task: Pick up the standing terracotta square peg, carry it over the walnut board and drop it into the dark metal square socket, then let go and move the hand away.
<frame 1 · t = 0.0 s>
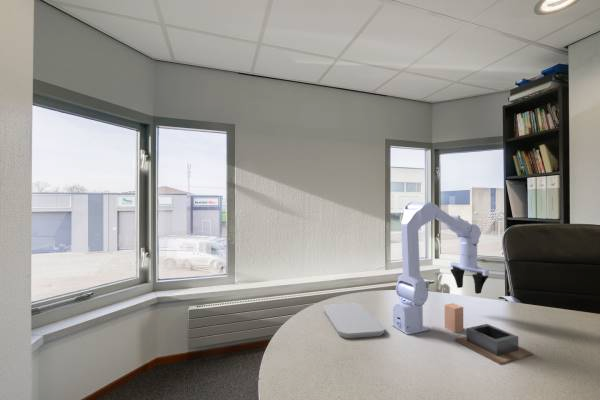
hand: (468, 290, 106), 10 cm above the table, fingers open, 7 cm apart
peg: (453, 329, 95), on the table
socket board: (491, 347, 83), on the table
tablet: (351, 322, 101), on the table
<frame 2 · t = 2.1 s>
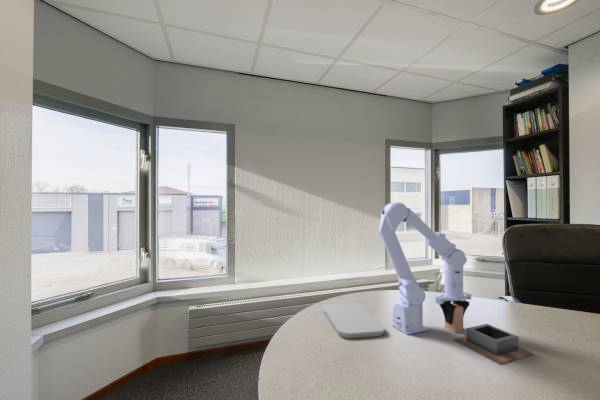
hand: (453, 322, 95), 2 cm above the table, fingers closed on peg, 4 cm apart
peg: (453, 329, 95), on the table, touching gripper
everything else where it was.
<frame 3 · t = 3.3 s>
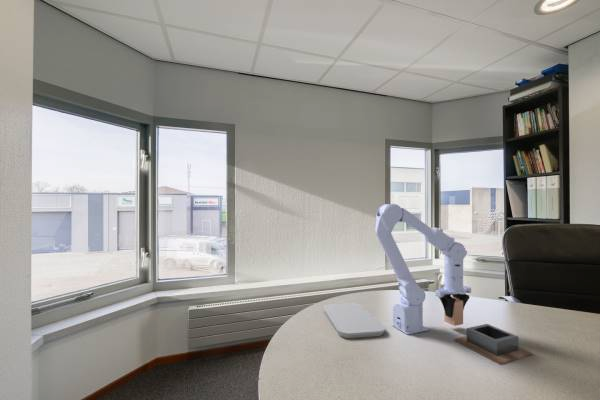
hand: (453, 315, 95), 5 cm above the table, fingers closed on peg, 4 cm apart
peg: (453, 322, 95), point 2 cm above the table, touching gripper
everything else where it was.
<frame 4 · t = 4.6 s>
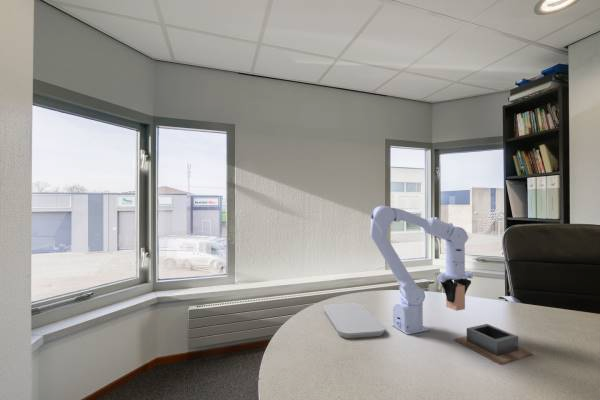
hand: (455, 300, 95), 10 cm above the table, fingers closed on peg, 4 cm apart
peg: (455, 307, 95), point 7 cm above the table, touching gripper
everything else where it was.
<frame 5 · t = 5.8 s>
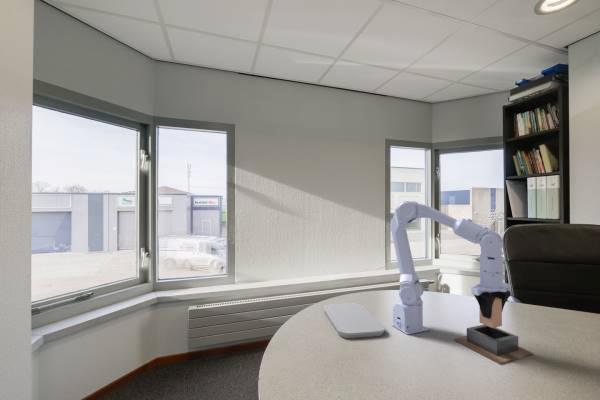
hand: (491, 316, 83), 9 cm above the table, fingers closed on peg, 4 cm apart
peg: (490, 324, 84), point 7 cm above the table, touching gripper
everything else where it was.
when the fingers open (5 cm above the table, at t = 7.0 s): peg drops 2 cm, resting on socket board.
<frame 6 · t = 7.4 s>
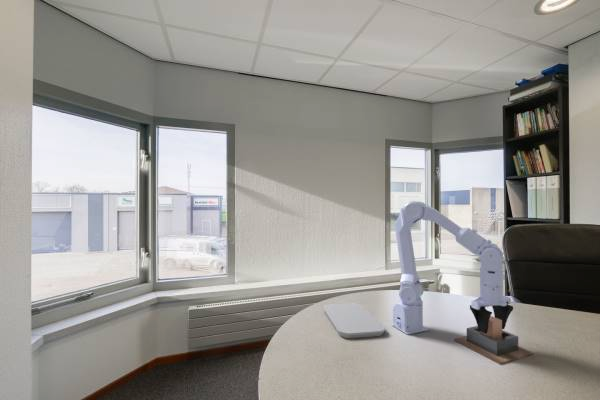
hand: (491, 329, 83), 5 cm above the table, fingers open, 7 cm apart
peg: (490, 345, 83), resting on socket board
everything else where it was.
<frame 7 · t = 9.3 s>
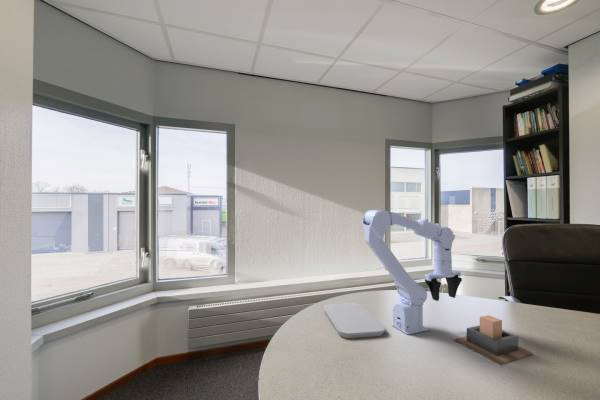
hand: (443, 298, 98), 10 cm above the table, fingers open, 7 cm apart
nothing on the table moved.
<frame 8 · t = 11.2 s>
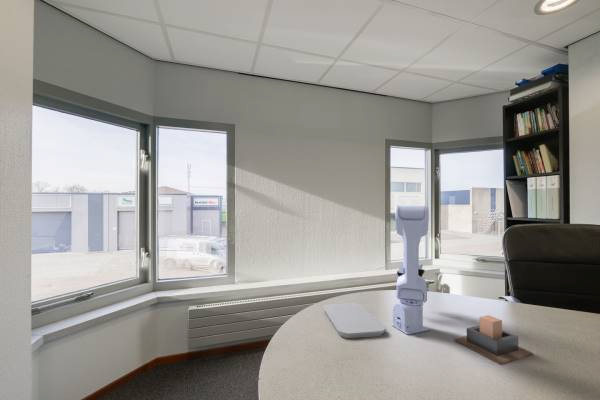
hand: (411, 288, 110), 9 cm above the table, fingers open, 7 cm apart
nothing on the table moved.
at the end: peg 0.3 cm off-centre on the socket board, point 0.5 cm above the socket board's base; peg tilted 0°; the gripper is holding nothing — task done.
